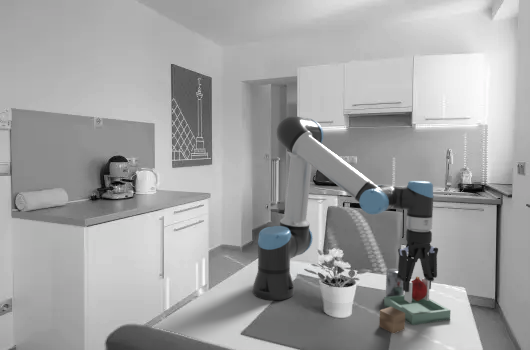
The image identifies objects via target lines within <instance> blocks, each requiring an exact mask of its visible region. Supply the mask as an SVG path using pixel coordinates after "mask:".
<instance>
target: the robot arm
mask: <svg viewBox="0 0 530 350" xmlns="http://www.w3.org/2000/svg"><path fill="white" fill-rule="evenodd" d="M275 132H276V138H277V141H278V142H279V143H280V145H281V146H282V147H283V148H285V149H286V152H287V154H288V155H289V157H290V158H289V166H288V167H289V169H288V177H287V178H288V179H287V185H286V186H287V189H286V198H285V208H284V217H282V218H281V219H280V220H279V225H272V226H268V227H265V228H262V229H261V230H260V231H259V233H258V240H257V245H258V246H257V248H258V249H257V273H256V276H255V279H254V281H253V285H252V293H253V295H254V296H256V297H257V298H259V299H263V300H267V301H268V300H269V301H280V300H287V299H290V298H292V297H293V296H294V295H295V284H294V282H293V279H292V275H291V272H290V271H291V260H292V259H293V258H295V257H297V256H300V255H303V254H304V253H305V252H307V251H308V250H309V249H310V248H311V246H312V243H313V239H314V238H313V233H312V231H311V230H310V229H311V228H310V222H309V221H308V219H307V215H308V205H309V195H310V184H311V175H312V167H314V168H315V169H316V170H317V171H319V172H320V174H321V173H322V174H323V175H324V176H325V177H326V178H327V179H329V180H330V181H332V183H334V185H335V184H336V186H338V188H340V189H341V190H343V191H344V192H345V193H347V194H348V195H349V196H351V197H352V198H353V199H354V200H356V201H357V202H358V204H359V206H360V208H361V210H362V211H363V212H365V213H366V214H368V215H379V214H383V212H385V211H388V210H391V209H392V210H402V211H403V210H405V211H406V223H405V224H406V228H407V229H406V231H405V232H406V233H405V237H406V238H405V240H406V242H407V243H406V245H405V247H404V248H398V250H397V252H398V265H397V269H398V279H400V280H402V281H403V291H404V300H406V301H407V302H409V303H412V282H411V281H412V276H413V273H414V271H415V270H414V269H415V267H416V263H418V261H420V265H421V270H422V274H423V277H422V278H421V281H422V282H423V283H424V284H425V285H426V287H427V294H426V296H425V297H424V298H423V299H425V300H426V301H429V299H430V290H431V289H432V282H434V281H435V278H438V252H439V248H438V247H436V246H432V245H431V243H432V240H433V238H432V237H433V232H432V229H433V214H434V213H433V210H434V209H433V207H434V184H433V183H432V182H431V181H427V180H426V181H425V180H410V181H408V182H407V186H393V185H385V184H378V185H377V184H376V183H374V182H373V181H372V180H370V179H369V178H368V177H367V176H365V175H364V174H363V173H361V172H360V171H358V170H357V169H356V168H355V167H353V166H352V165H350V164H349V163H348V162H346V161H345V160H343V158H342V157H340V156H338V155H337V154H336V153H334V152H333V151H331V150H330V149H329V148H327V147H326V146H325V145H324V144H322V143H323V140H324V130H323V127H322V126H321V125H320V123H319V122H318V121H315V120H313V119H312V118H308V117H307V118H306V117H302V116H301V117H300V116H297V115H290V116H287V117H286V116H285V117H284V118H283V119H282V120H281V121H280V122H279V123H278V124H277V127H276V131H275Z"/></svg>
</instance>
